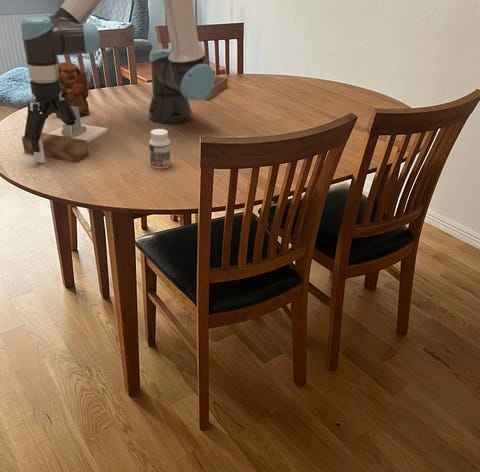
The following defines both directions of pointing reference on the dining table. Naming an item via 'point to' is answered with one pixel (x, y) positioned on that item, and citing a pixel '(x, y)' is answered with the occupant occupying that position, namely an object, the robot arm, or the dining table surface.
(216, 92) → the wooden tray
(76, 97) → the wooden figurine
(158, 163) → the pill bottle
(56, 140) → the bar
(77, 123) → the fulcrum
